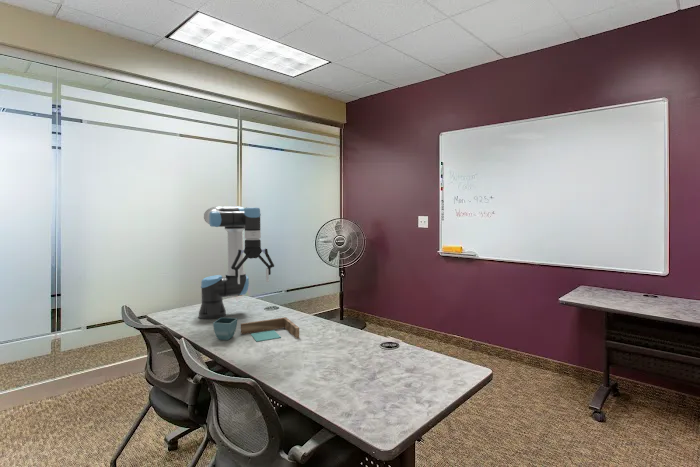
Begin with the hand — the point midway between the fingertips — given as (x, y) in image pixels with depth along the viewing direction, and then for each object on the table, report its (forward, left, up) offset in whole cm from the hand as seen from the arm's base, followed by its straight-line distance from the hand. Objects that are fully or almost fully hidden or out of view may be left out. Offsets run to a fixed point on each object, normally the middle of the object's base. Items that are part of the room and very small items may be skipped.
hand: (253, 282), depth 179 cm
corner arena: (+1, +7, -27) cm, 28 cm away
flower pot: (-5, -13, -27) cm, 31 cm away
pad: (+1, +5, -27) cm, 28 cm away
